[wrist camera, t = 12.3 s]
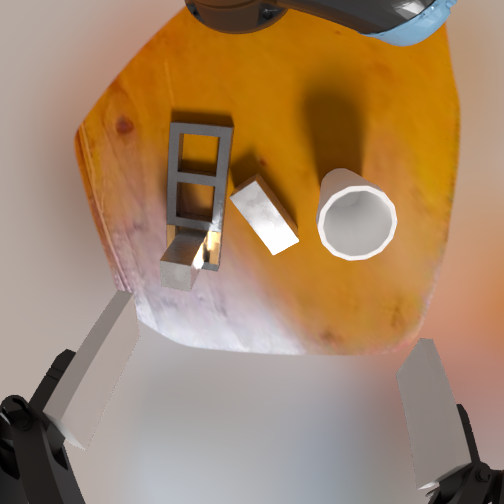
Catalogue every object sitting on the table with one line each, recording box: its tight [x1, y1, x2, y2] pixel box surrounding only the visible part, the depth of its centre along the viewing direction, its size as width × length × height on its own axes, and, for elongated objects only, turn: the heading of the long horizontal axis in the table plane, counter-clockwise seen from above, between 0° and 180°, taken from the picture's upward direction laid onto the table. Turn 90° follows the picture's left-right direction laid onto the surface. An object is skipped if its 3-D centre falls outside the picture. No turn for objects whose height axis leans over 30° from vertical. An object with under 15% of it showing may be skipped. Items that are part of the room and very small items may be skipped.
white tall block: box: [160, 227, 209, 292], centre depth 46 cm, size 4×4×11 cm
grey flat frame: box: [167, 121, 234, 271], centre depth 46 cm, size 24×9×2 cm, turn 172°
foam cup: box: [316, 168, 397, 260], centre depth 38 cm, size 10×9×13 cm
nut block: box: [230, 173, 299, 255], centre depth 45 cm, size 11×4×4 cm, turn 36°
